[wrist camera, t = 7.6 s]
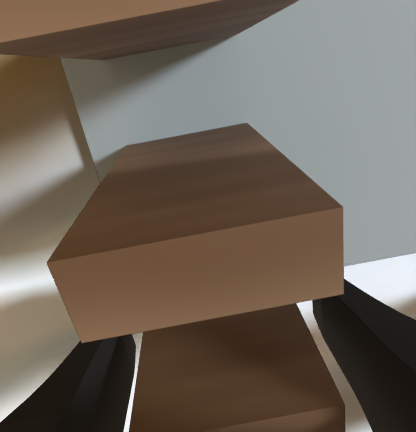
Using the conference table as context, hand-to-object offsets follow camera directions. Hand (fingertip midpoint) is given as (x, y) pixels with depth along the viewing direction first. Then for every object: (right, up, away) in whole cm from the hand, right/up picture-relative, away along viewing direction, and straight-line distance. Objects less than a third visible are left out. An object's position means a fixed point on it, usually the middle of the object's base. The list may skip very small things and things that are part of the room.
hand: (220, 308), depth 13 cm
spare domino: (0, +2, +3) cm, 4 cm away
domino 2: (-1, +6, +1) cm, 6 cm away
